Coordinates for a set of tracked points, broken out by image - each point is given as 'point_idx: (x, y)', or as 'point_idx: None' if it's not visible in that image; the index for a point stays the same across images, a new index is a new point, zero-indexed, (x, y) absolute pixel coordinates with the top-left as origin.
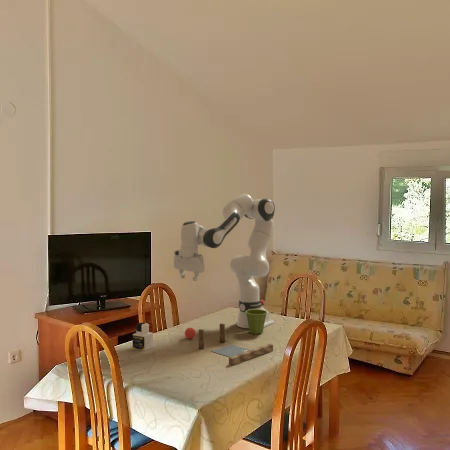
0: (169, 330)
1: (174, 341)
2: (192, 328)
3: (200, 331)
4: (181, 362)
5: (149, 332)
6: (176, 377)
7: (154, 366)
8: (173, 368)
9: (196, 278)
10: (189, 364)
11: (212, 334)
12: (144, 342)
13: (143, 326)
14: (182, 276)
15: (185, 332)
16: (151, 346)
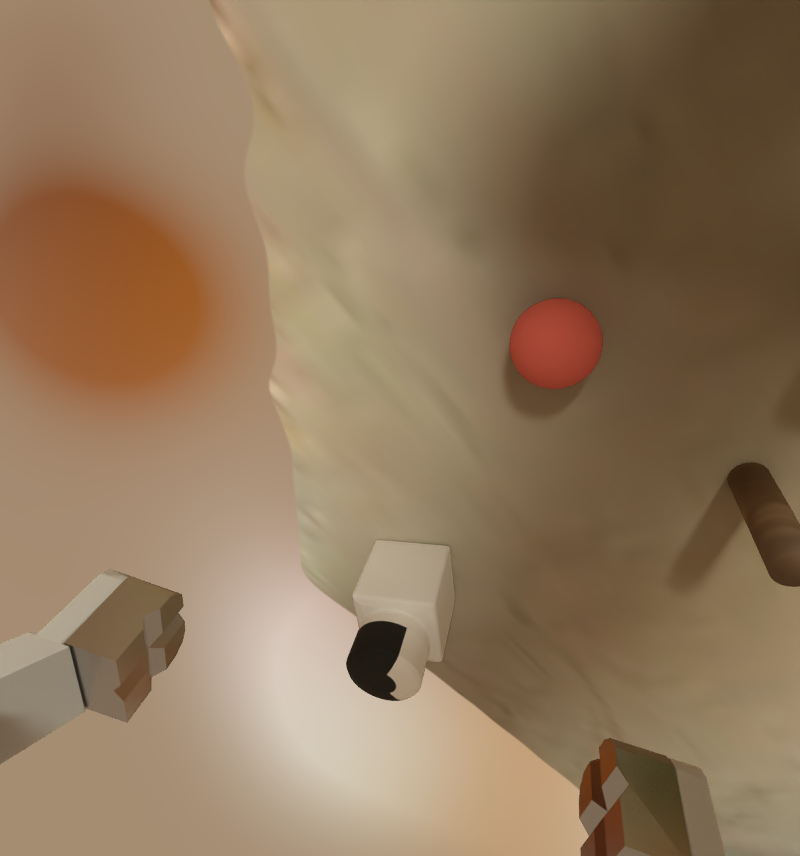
0: (288, 229)
1: (492, 427)
2: (575, 353)
3: (794, 581)
4: (730, 674)
5: (419, 615)
6: (792, 791)
7: (628, 724)
8: (728, 730)
9: (703, 844)
10: (788, 686)
11: (686, 112)
12: (447, 633)
13: (412, 695)
14: (149, 687)
15: (532, 383)
16: (450, 561)
